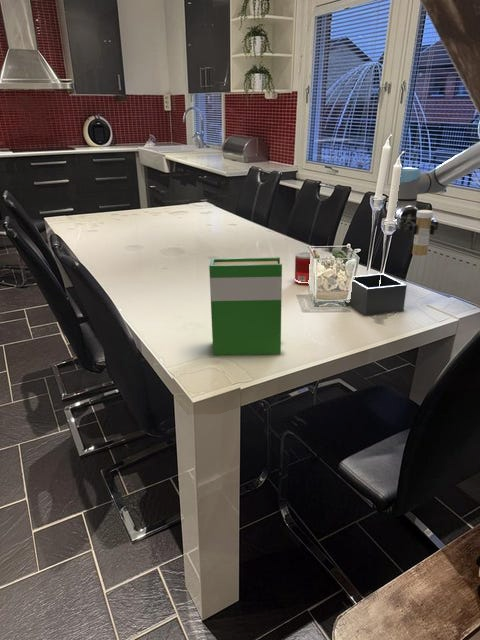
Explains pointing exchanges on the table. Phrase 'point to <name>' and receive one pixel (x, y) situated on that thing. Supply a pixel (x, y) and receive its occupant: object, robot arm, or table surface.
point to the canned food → (302, 267)
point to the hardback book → (246, 305)
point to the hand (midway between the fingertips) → (424, 230)
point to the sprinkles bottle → (422, 232)
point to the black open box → (377, 294)
